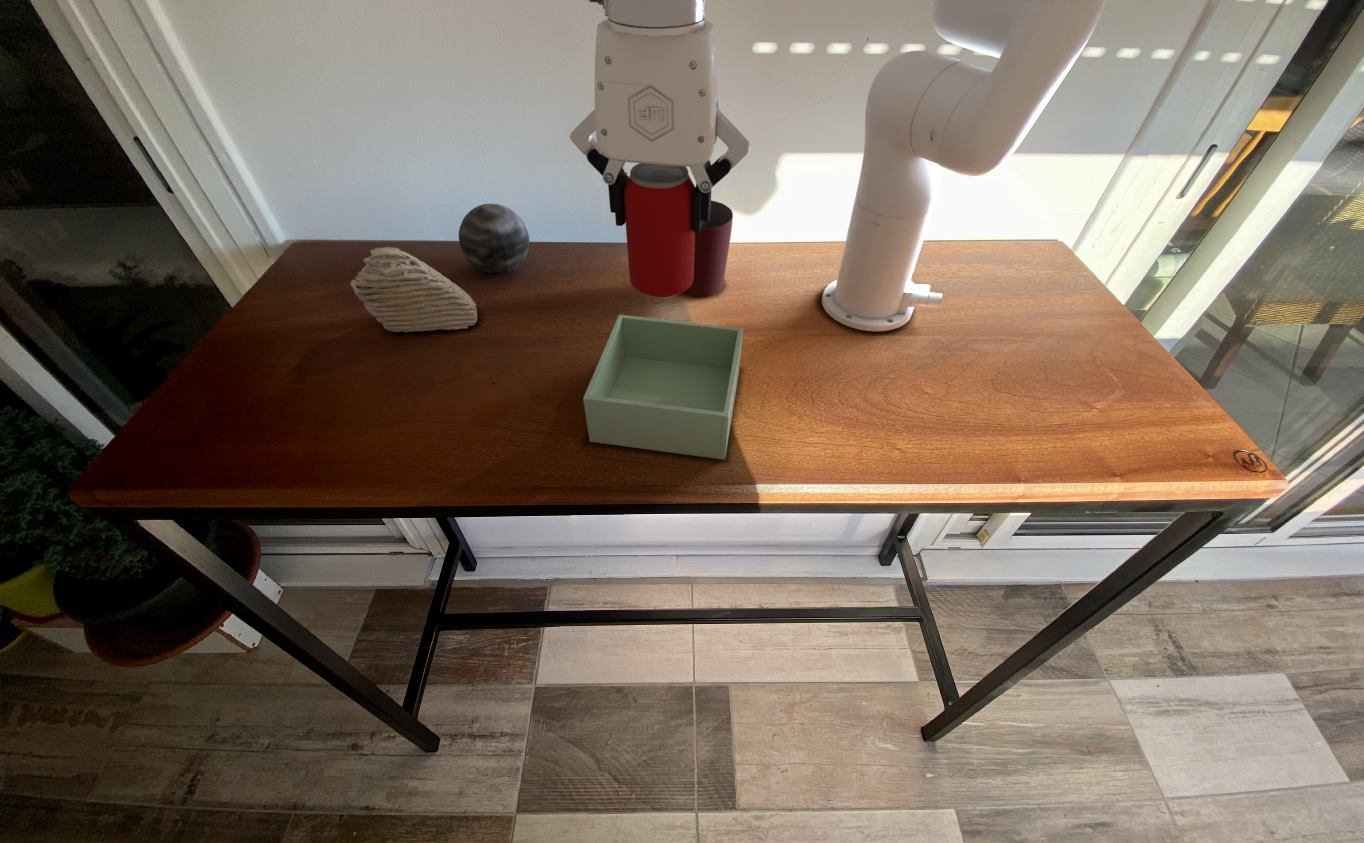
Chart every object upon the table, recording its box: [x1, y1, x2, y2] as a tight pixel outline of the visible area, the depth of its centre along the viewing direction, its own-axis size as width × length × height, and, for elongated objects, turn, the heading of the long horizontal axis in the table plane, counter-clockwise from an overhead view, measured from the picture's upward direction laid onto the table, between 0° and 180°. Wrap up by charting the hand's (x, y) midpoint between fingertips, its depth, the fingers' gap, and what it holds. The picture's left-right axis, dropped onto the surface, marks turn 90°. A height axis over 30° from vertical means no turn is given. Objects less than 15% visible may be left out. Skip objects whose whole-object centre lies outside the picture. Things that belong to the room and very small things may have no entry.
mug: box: [681, 200, 734, 298], centre depth 86 cm, size 12×9×11 cm
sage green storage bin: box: [582, 314, 744, 461], centre depth 68 cm, size 15×15×7 cm
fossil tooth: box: [349, 246, 478, 333], centre depth 78 cm, size 12×6×15 cm
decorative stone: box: [458, 203, 530, 275], centre depth 88 cm, size 10×10×10 cm
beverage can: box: [624, 163, 696, 299], centre depth 59 cm, size 7×7×12 cm
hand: (660, 221), depth 58 cm, fingers closed on beverage can, 6 cm apart
